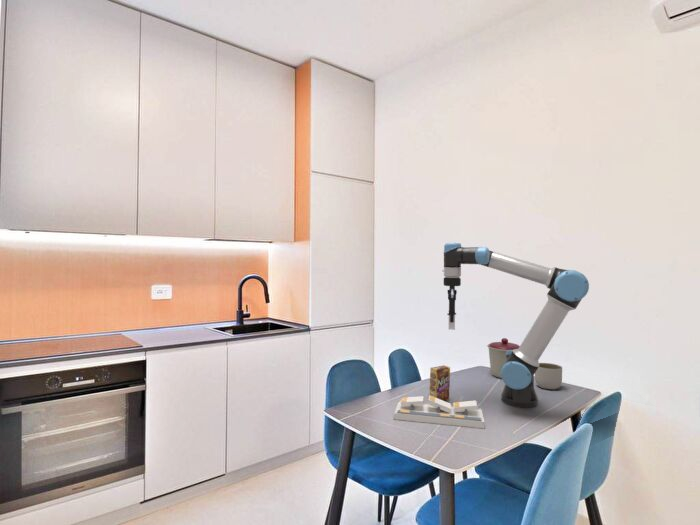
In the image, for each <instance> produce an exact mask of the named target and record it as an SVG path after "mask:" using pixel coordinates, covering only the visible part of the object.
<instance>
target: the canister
mask: <svg viewBox="0 0 700 525" xmlns="http://www.w3.org/2000/svg"><path fill="white" fill-rule="evenodd" d="M486 346H487V348H488V356H489V365H490V372H491V374H492V375H493V376H494V377H496V378H499V379H502V378H501V368H502V366H503V365H504V364H505V362H506V352H507V351H508V350H514V349H518V348H519V347H520V345H519V344H517V343H513V342H509V339H508V338H505V337H504V338H502V339H501V340H500V341H495V342H490V343H489V344H487V345H486Z"/></svg>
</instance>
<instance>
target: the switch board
mask: <svg viewBox="0 0 700 525" xmlns="http://www.w3.org/2000/svg"><path fill="white" fill-rule="evenodd" d="M393 417H394V419H393V420H395V421H396V420H397V421H408V422H415V423H416V422H417V423H423V424H424V423H426V424H434V425H435V424H436V425H447V426H455V427H463V428H464V427H465V428H474V429H475V428H477V429H485V419H484V415H483V411H482V408H478V410H473V411H467V412H465V411H461V412H454V405H451V410H450V413H448V412H446V411H443V410H441V409H437V408H436V407H434V406H431V405H429V404H428V403H424V405H423V406H413V407H411V406H405V407H401V401H398V403H397V406H396V408H395V410H394V416H393Z"/></svg>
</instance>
